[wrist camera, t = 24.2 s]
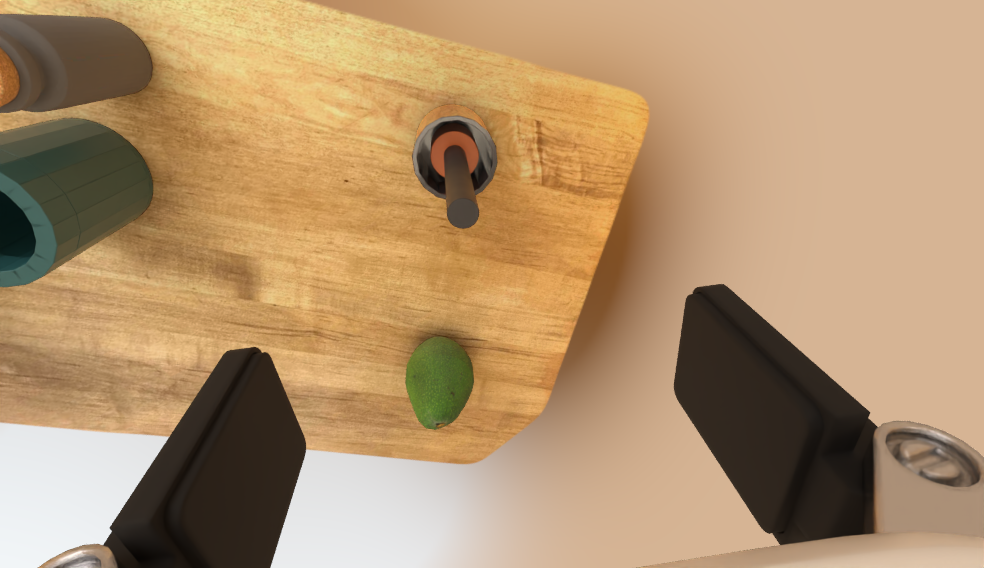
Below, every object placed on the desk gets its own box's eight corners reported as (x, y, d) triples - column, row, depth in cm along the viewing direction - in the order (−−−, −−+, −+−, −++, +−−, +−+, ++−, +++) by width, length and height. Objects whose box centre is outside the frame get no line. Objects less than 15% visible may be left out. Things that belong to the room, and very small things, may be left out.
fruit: (400, 366, 58) (391, 440, 47) (418, 316, 54) (414, 384, 44) (458, 379, 60) (463, 453, 49) (480, 332, 57) (489, 401, 46)
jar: (6, 124, 40) (-162, 161, 29) (122, 111, 41) (1, 143, 29) (68, 229, 45) (-55, 294, 34) (171, 216, 46) (83, 277, 34)
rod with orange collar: (427, 125, 44) (422, 183, 27) (473, 120, 44) (495, 174, 27) (434, 171, 46) (433, 250, 29) (477, 166, 46) (500, 241, 29)
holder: (410, 108, 43) (405, 121, 37) (485, 100, 43) (493, 111, 37) (422, 182, 47) (420, 205, 41) (492, 174, 47) (500, 195, 41)
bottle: (151, 29, 38) (2, 29, 25) (155, 101, 41) (23, 135, 28) (69, 7, 37) (-132, -5, 24) (79, 83, 39) (-97, 109, 26)
